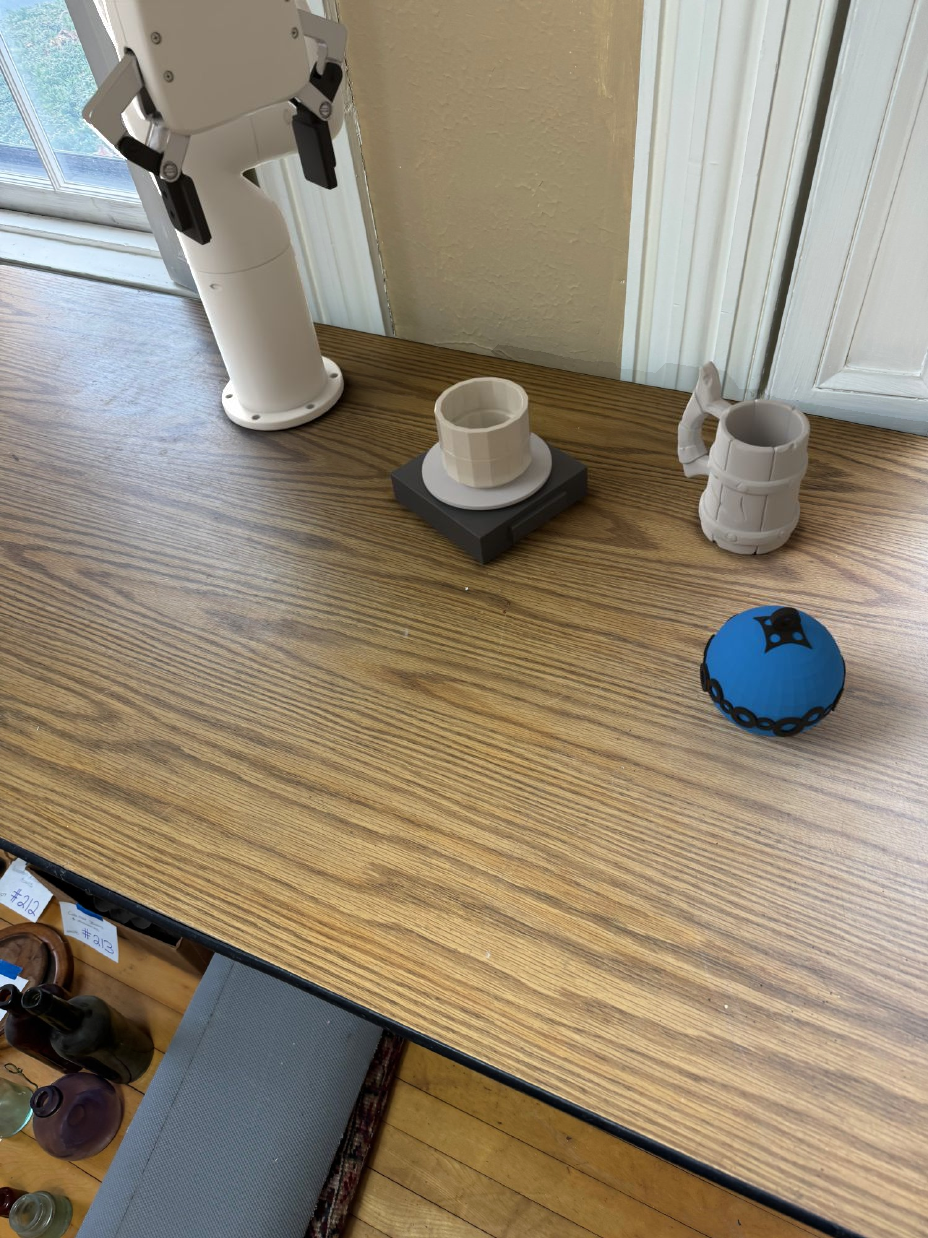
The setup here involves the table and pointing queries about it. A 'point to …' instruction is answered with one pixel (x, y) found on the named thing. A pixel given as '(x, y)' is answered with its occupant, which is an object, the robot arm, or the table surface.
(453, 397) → the off-white faceted cup
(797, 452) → the mug
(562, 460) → the scale
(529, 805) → the table surface
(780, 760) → the table surface
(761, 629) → the ornament
